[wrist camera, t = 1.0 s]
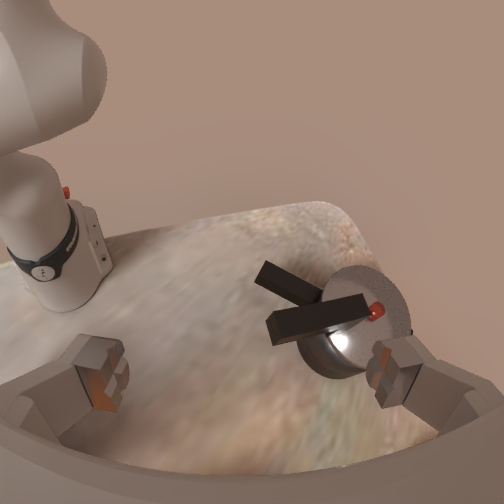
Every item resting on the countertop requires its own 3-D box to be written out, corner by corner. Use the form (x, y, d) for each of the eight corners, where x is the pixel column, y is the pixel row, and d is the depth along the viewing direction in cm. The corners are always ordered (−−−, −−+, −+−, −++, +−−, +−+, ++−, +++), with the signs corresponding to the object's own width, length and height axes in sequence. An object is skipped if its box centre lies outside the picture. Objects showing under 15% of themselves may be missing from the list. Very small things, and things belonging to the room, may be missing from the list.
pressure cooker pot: (388, 324, 52) (419, 304, 44) (371, 396, 43) (407, 386, 35) (266, 259, 54) (283, 227, 46) (228, 329, 45) (240, 306, 37)
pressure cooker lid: (383, 263, 47) (408, 238, 41) (419, 349, 39) (452, 333, 32) (242, 284, 38) (256, 253, 32) (276, 407, 30) (301, 404, 24)
